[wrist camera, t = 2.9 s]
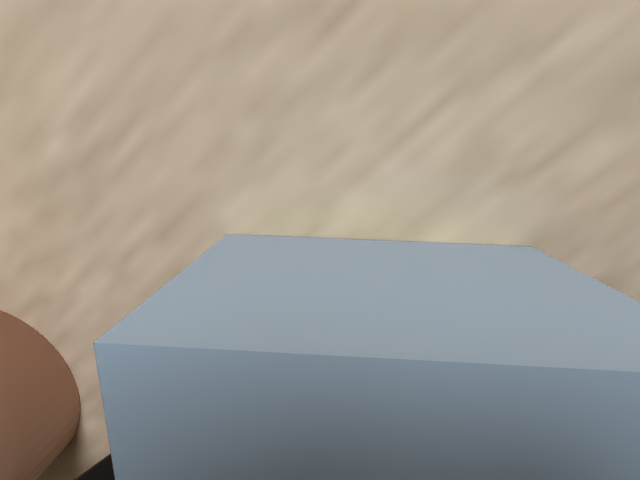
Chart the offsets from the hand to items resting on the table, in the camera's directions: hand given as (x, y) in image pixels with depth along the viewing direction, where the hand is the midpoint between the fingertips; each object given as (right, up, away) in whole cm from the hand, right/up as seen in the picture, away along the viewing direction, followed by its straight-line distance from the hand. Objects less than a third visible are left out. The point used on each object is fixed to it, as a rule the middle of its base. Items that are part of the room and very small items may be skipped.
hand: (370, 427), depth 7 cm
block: (0, 0, +1) cm, 1 cm away
